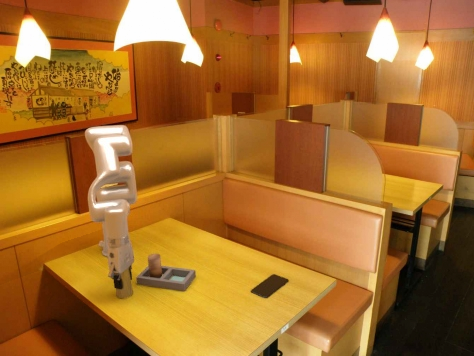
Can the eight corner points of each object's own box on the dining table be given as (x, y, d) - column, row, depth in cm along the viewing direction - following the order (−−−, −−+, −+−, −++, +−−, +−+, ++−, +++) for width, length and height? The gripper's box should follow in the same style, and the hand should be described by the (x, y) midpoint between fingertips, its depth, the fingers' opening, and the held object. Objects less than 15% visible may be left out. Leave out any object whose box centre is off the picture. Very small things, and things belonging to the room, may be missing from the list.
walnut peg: (147, 281, 153) (145, 258, 151) (153, 275, 158) (151, 253, 155) (158, 282, 152) (156, 260, 149) (164, 276, 156) (162, 254, 154)
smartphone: (266, 300, 139) (289, 281, 151) (266, 298, 139) (289, 279, 151) (249, 292, 144) (273, 275, 156) (249, 290, 144) (273, 273, 156)
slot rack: (136, 284, 151) (136, 277, 151) (150, 270, 161) (149, 264, 161) (184, 291, 146) (184, 284, 145) (195, 276, 156) (195, 270, 155)
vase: (128, 299, 141) (124, 264, 137) (113, 298, 142) (108, 263, 139) (135, 290, 147) (132, 256, 143) (121, 289, 148) (117, 255, 144)
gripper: (113, 251, 130) (119, 298, 135) (139, 231, 145) (144, 273, 150) (94, 248, 132) (100, 295, 137) (122, 229, 148) (127, 271, 152)
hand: (123, 283), depth 143 cm, fingers closed on vase, 5 cm apart
